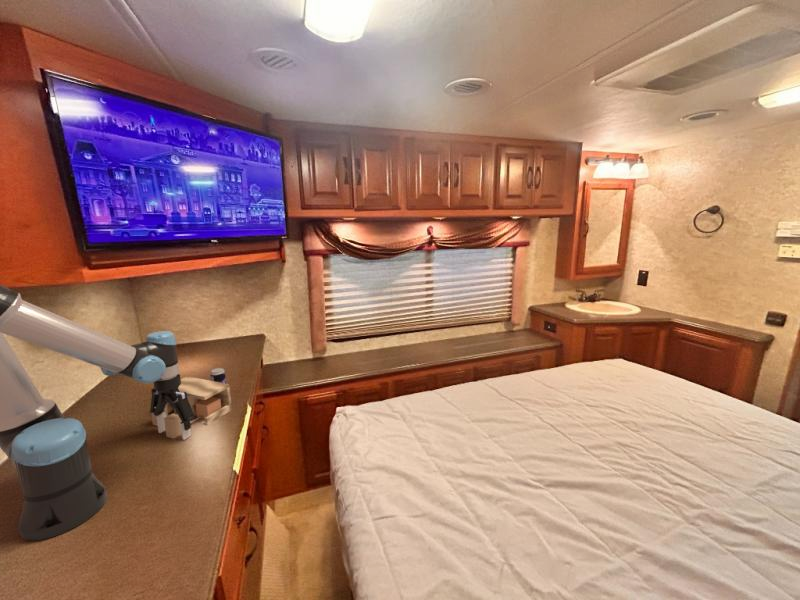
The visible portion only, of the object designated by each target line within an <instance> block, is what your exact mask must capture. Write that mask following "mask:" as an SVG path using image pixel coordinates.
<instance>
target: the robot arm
mask: <svg viewBox="0 0 800 600" xmlns="http://www.w3.org/2000/svg"><path fill="white" fill-rule="evenodd" d="M5 335H6V336H10V337H12V338H16V339H19V340H21V341H24V342H27V343H30V344H33V345H36V346H38V347H40V348H41V347H42V348H45V349H47V350H50V351H53V352H56V353H58V354H62V355H64V356H67V357H71V358H73V359H75V360H79V361H82V362H84V363H87V364H90V365H93V366H96V367H98V368H100V370H101V372H102V374H103V375H104V376H108V377H109V376H113V375H122V376H124V377H127V378H129V379H133V380H134V381H135V382H138V383H141V384H151V383H153V388H151V391H150V392H151V402H150V407H149V408H150V409H149V412H150V414H151V413H154V415H155V416H156V421H157V426H156V427H157V430H158V434H162V433H163V432H166V430H165V423H164V418H166V414H165V413H162V412H164V409H165V406H166V404H167V402H168V403H170V405H171V406H173V407H174V409H175V410H176V412H177V413H176V414H177V415H178V416H179V417H180V419H181V422H180V425H181V432H182V434H181V437H182V440H183V441H185V440H186V439H188V438H190V437H191V436H192V429H191V428H192V427H191V424H190V422H191V421H192V420H194V419H196V418H195V417H196V416H194V414H193V411H192V409H191V406H190V404H189V401H188V399H187V393H186V392H183V393H181V392H180V391H179V389H178V387H179V386H180V384H181V379H182V378H181V374H180V367H179V359H178V352H177V342H176V337H175V334H174V332H172V331H168V330H161V331H154V332H150V333H149V334H147V335H146V339H145V341H143V342H140V343H136V344H135V343H134V344H131V345H130V344H127V343H125V342H122V341H120V340H118V339H115V338H113V337H110V336H108V335H106V334H103V333H101V332H100V331H99V332H98V331H96V330H94V329H92V328H89V327H86V326H84V325H82V324H80V323H77V322H75V321H73V320H71V319H68V318H65V317H63V316H61V315H58V314H56V313H54V312H51V311H49V310H47V309H45V308H41V307H40V306H37V305H35V304H33V303H30V302H29V301H26V300H23V299H22V296H21V293H19V292H17V291H15V290H13V289H10V288H9V287H7V286H4V285H2V284H0V449H1V450H2V452H3V453H5V455H6V456H7V458H8V460H9V461H10V463H11V464H12V466H13V467H14V469H15V471H16V473H17V476H18V482H19V485H20V487H21V492H22V495H23V500H24V501H23V506H22V510H21V512H20V513H21V514H20V516H19V517H20V518H19V521H18V527H17V528H18V531H19V535H20V538H22V539H23V540H26V541H31V542H32V541H42V540H47V539H50V538H54V537H57V536H59V535H61V534H64V533H66V532H68V531H70V530H73V529H74V528H76V527H78V526H80V525H82V524H83V523H85V522H86V521H89V519H90V518H92V517H93V516H95V515H96V513H98V512H99V511H100V510H101V509H102V508H103V507H104V505H105V504H106V502H107V499H108V498H107V497H108V495H107V489H106V487H105V485H103V483H102V481H100V480H99V479H98V477H97V476H95V475H96V474H94V473H93V469H92V464H91V458H90V452H89V448H88V443H87V431H86V429H85V428H84V425H83V423H82V422H81V421H80V420H78V419H76V418H73V417H66V418H65V416H64V415H63V413H62V411H61V409H60V408H59V406H58V405H57V403H56V402H55V400H53V399H50V398H49V399H48V398H43V397H42V395H41V393H40V391H39V389H37V387H36V384H35V383H34V382H33V380H32V378H31V377H30V375H29V374H28V372H27V370H26V369H25V367H24V365H23V364H22V362H21V361H20V359H19V358H18V356H17V354H16V353H15V351H14V349H13V347H12V346H11V344H10V343H9V341H8V340H7V338H6V336H5ZM176 400H178V401H176ZM175 401H176V402H175ZM155 407H156V408H155ZM175 410H174V411H175Z"/></svg>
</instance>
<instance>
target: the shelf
mask: <svg viewBox="0 0 800 600" xmlns="http://www.w3.org/2000/svg"><path fill="white" fill-rule="evenodd" d="M178 389H179V391H180V392H181V393H183V392H186V393H187V399H188V401H189V404H190V406H191V409H192V411H193V414H194V416H195V417H197V414H196V406H195V403H196V402H198V401H200V400H206V399H208V398H210V397H216V398H220V400H221V409H219V410H217V411H216V412H214V413H212V414H211V415H209V416H207V417H205V418H204V419H203V420H204V424H205V425H210V424H211V423H213V422H215V421H216V420H217V419H219V418H221V417H223V416H225V415H226V414H227V413H229V412H231V411H232V410H233V406H232V398H231V396H232V395H231V386H230V384H229V383H226V384H225V383H220V382H215V381H211V379H210V380H209V379H204V378H199V377H192V376H185V377H182V378H181V384H180V386H179V387H178ZM166 406H167V413H168V414H171V413H172V412H175V410H174V407H173V406H171V405H170V403H168V402H167V404H166Z"/></svg>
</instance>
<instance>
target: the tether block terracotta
mask: <svg viewBox="0 0 800 600" xmlns="http://www.w3.org/2000/svg"><path fill="white" fill-rule="evenodd" d="M195 406H196V414H197V416H196V418H193V419H192V420H190V425H191V424H193V423H194V422H196V421H197V420H199V419H203V420H205V419H204V418H205V417H207V416H209V415H211V414H212V413H214V412H216V411H217V410H219V409H221V400H220V398H216V397H210V398H208V399H206V400H200V401H198V402H196V403H195ZM171 414H172V413H171ZM169 415H170V414H169ZM180 422H182V421H181V419H180V417H179V416H178V414H177V413H176V414H172V415H170V416H168V417H166V418H164V423H165V436H166V437H167V438H170V439H176V438H177V437H179V436H180V435H182V432H181V425H180Z"/></svg>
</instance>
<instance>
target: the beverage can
mask: <svg viewBox="0 0 800 600" xmlns="http://www.w3.org/2000/svg"><path fill="white" fill-rule="evenodd" d="M209 377H210V381H215V382H220V383H225V384H227V379H226V370H225V369H224V368H223V367H217V368H214V369H212V370H210V374H209Z"/></svg>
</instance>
